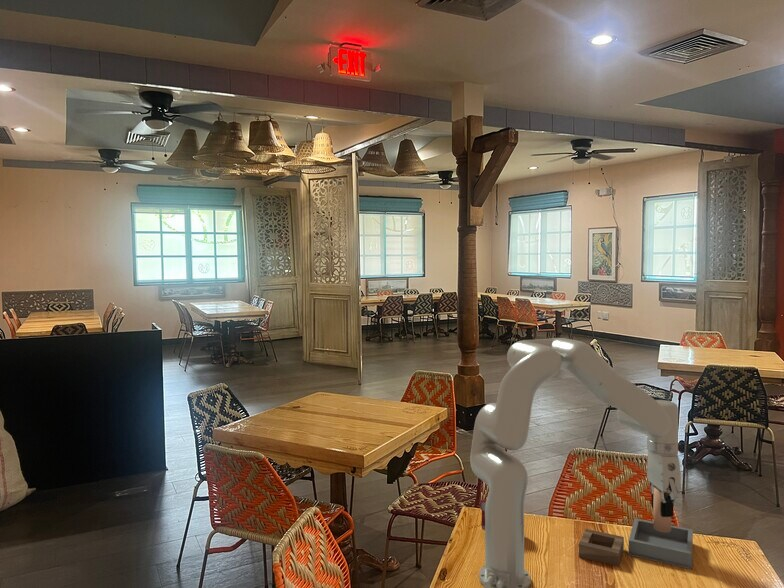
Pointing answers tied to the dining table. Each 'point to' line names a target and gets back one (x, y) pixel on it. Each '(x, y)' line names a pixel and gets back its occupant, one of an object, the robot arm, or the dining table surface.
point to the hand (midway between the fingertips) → (662, 511)
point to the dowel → (658, 521)
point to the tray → (661, 544)
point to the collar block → (601, 547)
